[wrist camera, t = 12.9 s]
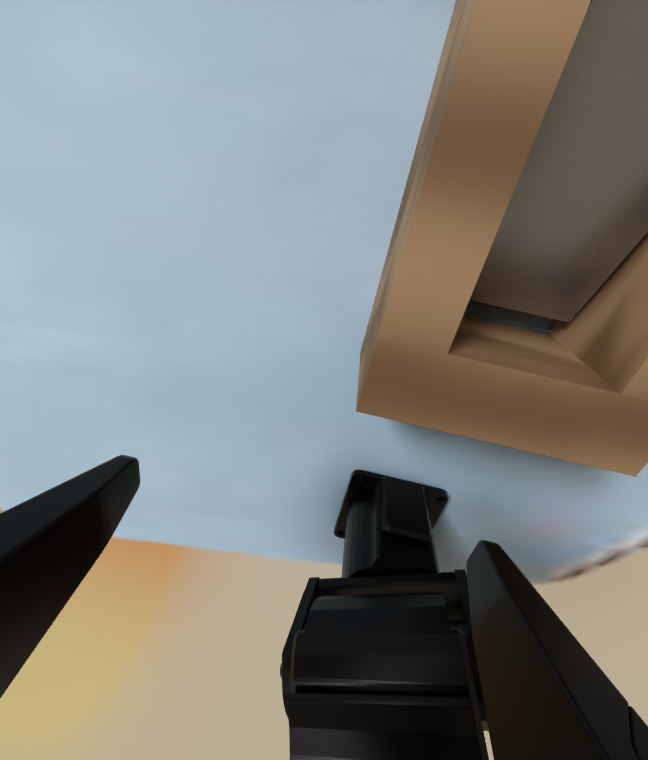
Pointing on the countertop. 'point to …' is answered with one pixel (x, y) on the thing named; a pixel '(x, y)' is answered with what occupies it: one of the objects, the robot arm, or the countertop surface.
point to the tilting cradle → (579, 175)
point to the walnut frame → (468, 254)
